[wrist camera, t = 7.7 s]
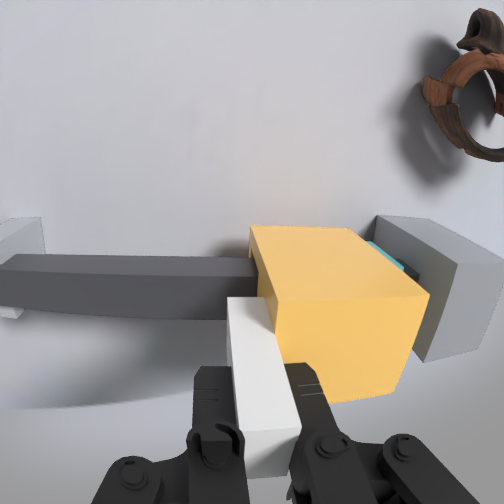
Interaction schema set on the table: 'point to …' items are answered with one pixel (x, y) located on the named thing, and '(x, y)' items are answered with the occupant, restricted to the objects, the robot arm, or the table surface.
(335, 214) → the table surface
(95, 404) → the table surface
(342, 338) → the sleeve
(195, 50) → the table surface
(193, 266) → the slider rail
